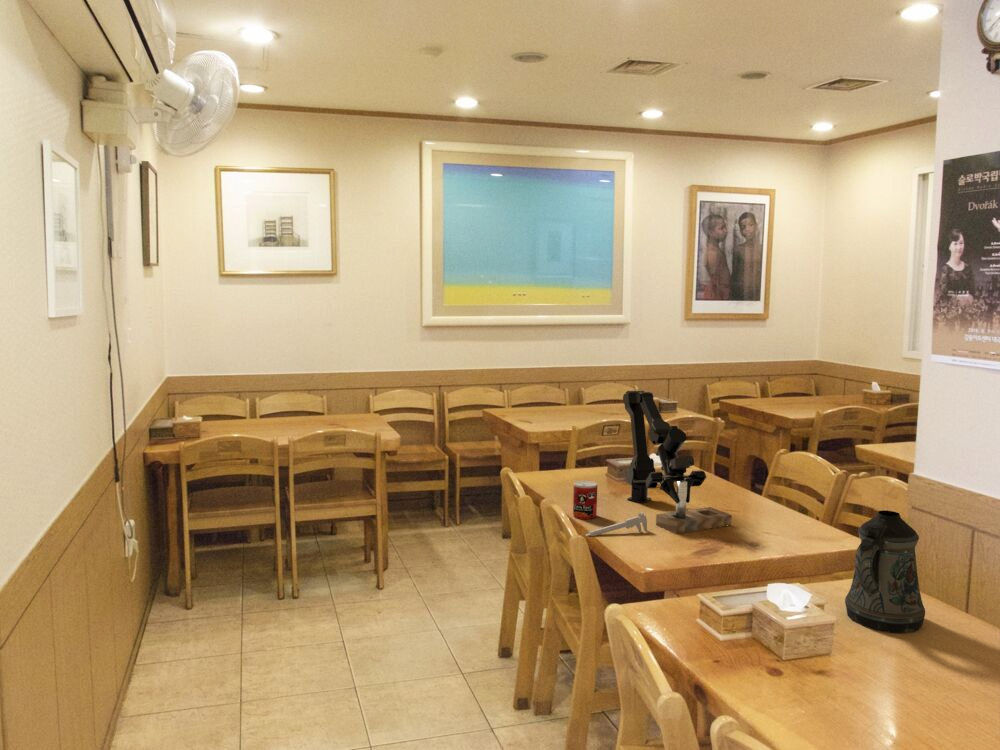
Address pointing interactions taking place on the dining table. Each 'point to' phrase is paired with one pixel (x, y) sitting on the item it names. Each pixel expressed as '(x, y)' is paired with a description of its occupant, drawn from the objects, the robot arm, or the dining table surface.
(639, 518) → the caliper
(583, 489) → the canned food
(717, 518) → the tool block
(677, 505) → the drill rod
